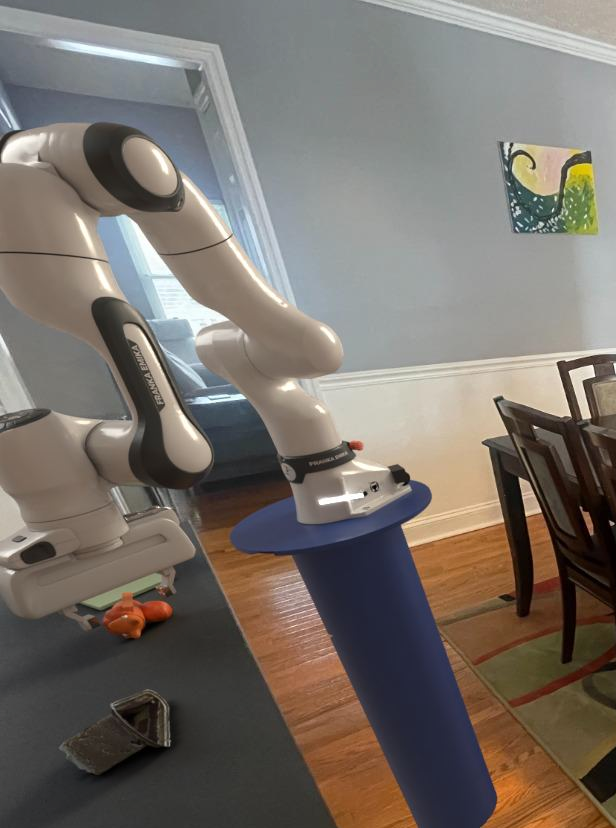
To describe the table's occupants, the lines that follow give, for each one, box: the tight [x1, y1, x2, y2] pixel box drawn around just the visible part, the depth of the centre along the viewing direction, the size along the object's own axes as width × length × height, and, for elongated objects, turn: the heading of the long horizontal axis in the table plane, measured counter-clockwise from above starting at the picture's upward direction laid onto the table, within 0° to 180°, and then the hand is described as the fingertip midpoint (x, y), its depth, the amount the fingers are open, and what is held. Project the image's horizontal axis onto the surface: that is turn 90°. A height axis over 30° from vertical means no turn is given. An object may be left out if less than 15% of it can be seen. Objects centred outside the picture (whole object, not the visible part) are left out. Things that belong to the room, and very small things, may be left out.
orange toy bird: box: [101, 592, 173, 639], centre depth 91 cm, size 5×8×12 cm
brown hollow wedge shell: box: [58, 688, 172, 776], centre depth 68 cm, size 10×7×12 cm
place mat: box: [79, 572, 162, 611], centre depth 103 cm, size 10×14×1 cm
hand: (132, 611), depth 90 cm, fingers open, 8 cm apart
